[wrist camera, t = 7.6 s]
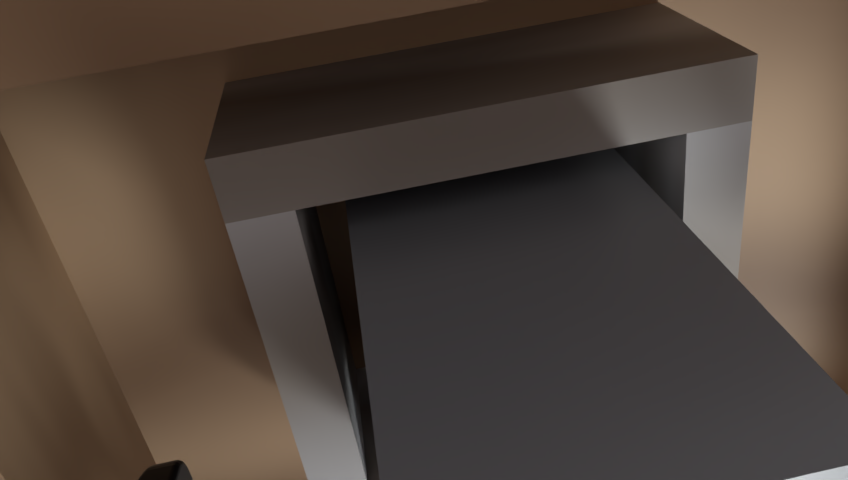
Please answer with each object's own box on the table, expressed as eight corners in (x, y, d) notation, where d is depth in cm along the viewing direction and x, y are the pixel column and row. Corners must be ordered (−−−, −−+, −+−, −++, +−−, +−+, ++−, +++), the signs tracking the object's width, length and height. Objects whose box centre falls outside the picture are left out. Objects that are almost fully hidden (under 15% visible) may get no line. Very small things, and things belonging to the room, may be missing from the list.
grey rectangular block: (584, 294, 15) (837, 720, 8) (379, 338, 14) (454, 815, 8) (574, 102, 13) (907, 450, 6) (335, 151, 12) (384, 571, 5)
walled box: (865, 457, 20) (1019, 633, 16) (200, 606, 19) (171, 836, 15) (1027, -243, 12) (1442, -275, 8) (-123, -45, 11) (-396, 47, 7)
